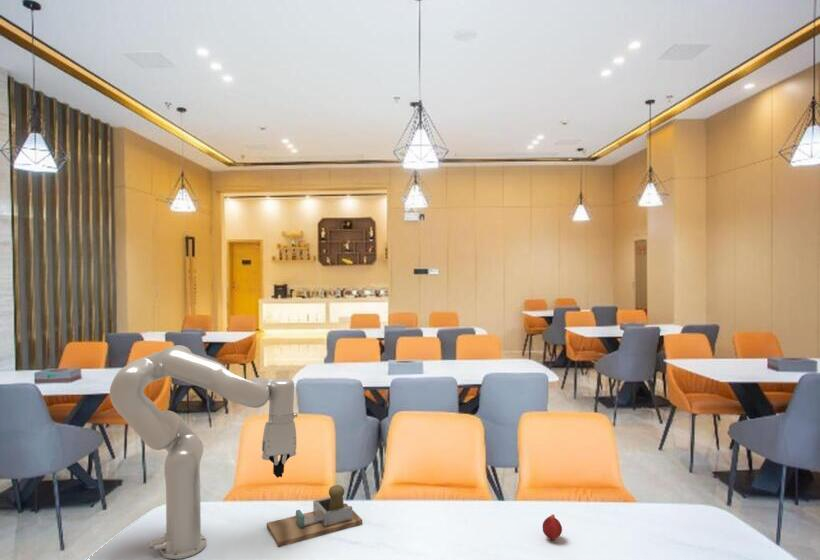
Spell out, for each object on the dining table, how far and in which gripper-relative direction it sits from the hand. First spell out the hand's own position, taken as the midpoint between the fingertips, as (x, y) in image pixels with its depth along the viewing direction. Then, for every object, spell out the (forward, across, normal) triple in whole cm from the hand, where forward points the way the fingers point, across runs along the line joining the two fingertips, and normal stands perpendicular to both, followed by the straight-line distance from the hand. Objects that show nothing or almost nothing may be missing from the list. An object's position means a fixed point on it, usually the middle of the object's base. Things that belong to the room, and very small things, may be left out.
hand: (278, 475), depth 161 cm
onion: (+15, -74, +47) cm, 88 cm away
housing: (+16, -15, 0) cm, 23 cm away
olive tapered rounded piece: (+18, -21, 0) cm, 27 cm away
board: (+18, -13, 0) cm, 22 cm away
